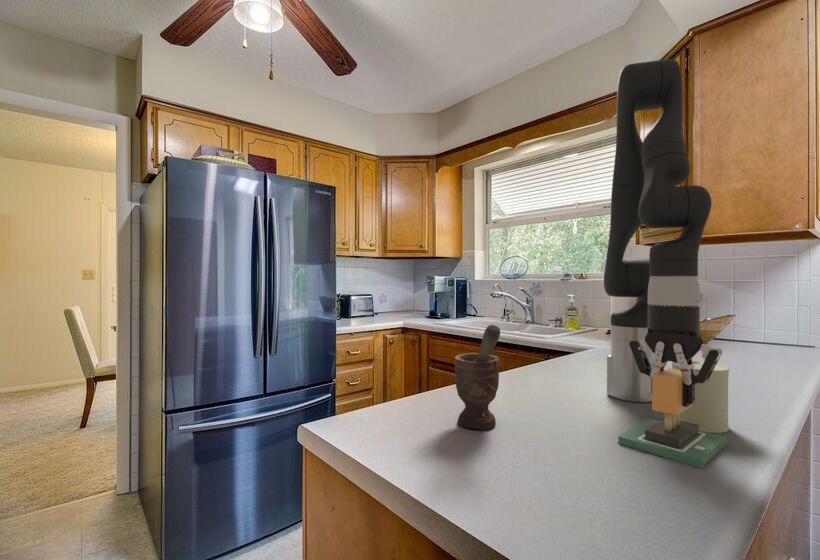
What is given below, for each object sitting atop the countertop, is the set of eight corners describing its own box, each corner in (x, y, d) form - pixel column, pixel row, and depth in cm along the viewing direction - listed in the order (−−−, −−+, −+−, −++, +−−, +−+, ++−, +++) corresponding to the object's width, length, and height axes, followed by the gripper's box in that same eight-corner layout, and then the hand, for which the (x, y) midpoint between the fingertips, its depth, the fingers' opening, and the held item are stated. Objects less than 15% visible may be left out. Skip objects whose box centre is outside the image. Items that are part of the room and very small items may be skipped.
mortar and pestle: (521, 431, 75) (522, 323, 75) (489, 441, 70) (490, 326, 70) (476, 414, 85) (476, 318, 85) (445, 422, 80) (445, 320, 80)
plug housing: (652, 409, 69) (652, 374, 69) (668, 401, 74) (669, 368, 74) (676, 415, 66) (676, 378, 66) (692, 406, 71) (692, 371, 71)
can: (718, 419, 82) (718, 360, 82) (738, 435, 74) (738, 369, 74) (665, 414, 85) (666, 357, 85) (678, 429, 77) (679, 365, 77)
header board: (618, 443, 70) (618, 409, 70) (649, 424, 79) (650, 395, 79) (701, 468, 61) (701, 429, 61) (726, 444, 70) (726, 410, 70)
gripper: (620, 301, 73) (620, 397, 73) (717, 305, 62) (716, 418, 62) (637, 300, 78) (637, 390, 78) (729, 304, 67) (729, 408, 67)
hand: (672, 402), depth 70 cm, fingers closed on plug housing, 3 cm apart
